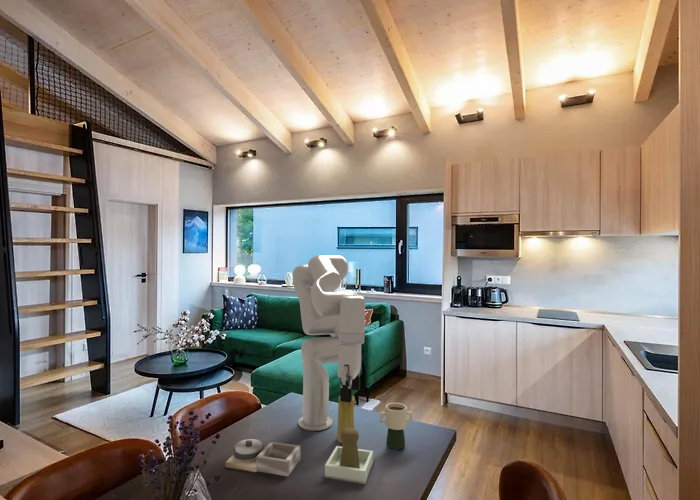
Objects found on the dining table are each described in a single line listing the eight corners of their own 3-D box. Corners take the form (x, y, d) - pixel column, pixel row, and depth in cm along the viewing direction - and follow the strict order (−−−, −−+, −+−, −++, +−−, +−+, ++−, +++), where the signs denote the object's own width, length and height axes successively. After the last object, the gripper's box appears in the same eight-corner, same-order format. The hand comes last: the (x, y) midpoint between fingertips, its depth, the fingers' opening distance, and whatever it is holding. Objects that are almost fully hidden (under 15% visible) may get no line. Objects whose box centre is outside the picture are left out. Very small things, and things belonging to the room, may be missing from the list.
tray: (336, 457, 122) (336, 446, 123) (373, 462, 120) (373, 451, 120) (324, 477, 111) (324, 465, 111) (365, 484, 108) (365, 471, 108)
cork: (357, 474, 112) (358, 435, 112) (337, 471, 113) (337, 433, 113) (361, 463, 118) (362, 426, 118) (341, 461, 119) (342, 424, 119)
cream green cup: (409, 440, 134) (409, 402, 134) (414, 451, 127) (415, 410, 127) (377, 441, 133) (378, 402, 133) (381, 452, 126) (381, 411, 126)
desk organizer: (244, 449, 127) (244, 432, 127) (301, 458, 122) (301, 440, 122) (225, 467, 116) (225, 448, 116) (287, 477, 111) (287, 457, 111)
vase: (357, 437, 136) (357, 395, 136) (351, 445, 130) (351, 401, 131) (340, 434, 138) (341, 393, 138) (334, 442, 132) (334, 399, 133)
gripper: (346, 330, 125) (345, 384, 125) (330, 343, 109) (329, 405, 109) (370, 332, 123) (368, 386, 124) (357, 345, 107) (355, 408, 107)
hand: (350, 395), depth 116 cm, fingers open, 9 cm apart
